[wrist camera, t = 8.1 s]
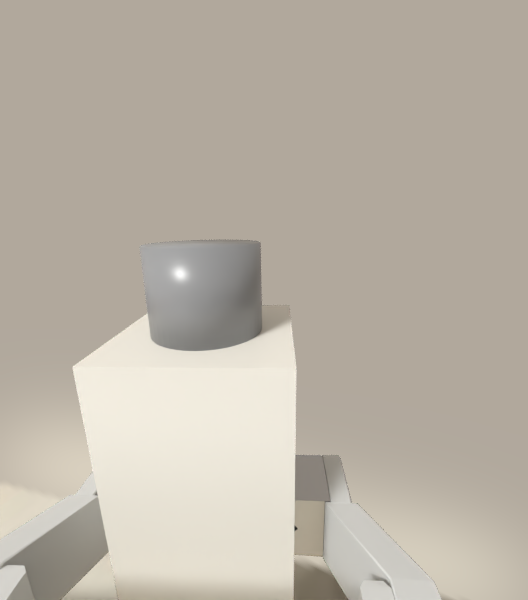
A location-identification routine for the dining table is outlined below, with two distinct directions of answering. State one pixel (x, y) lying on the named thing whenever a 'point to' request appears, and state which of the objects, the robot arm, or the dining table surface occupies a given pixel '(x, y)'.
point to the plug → (196, 431)
